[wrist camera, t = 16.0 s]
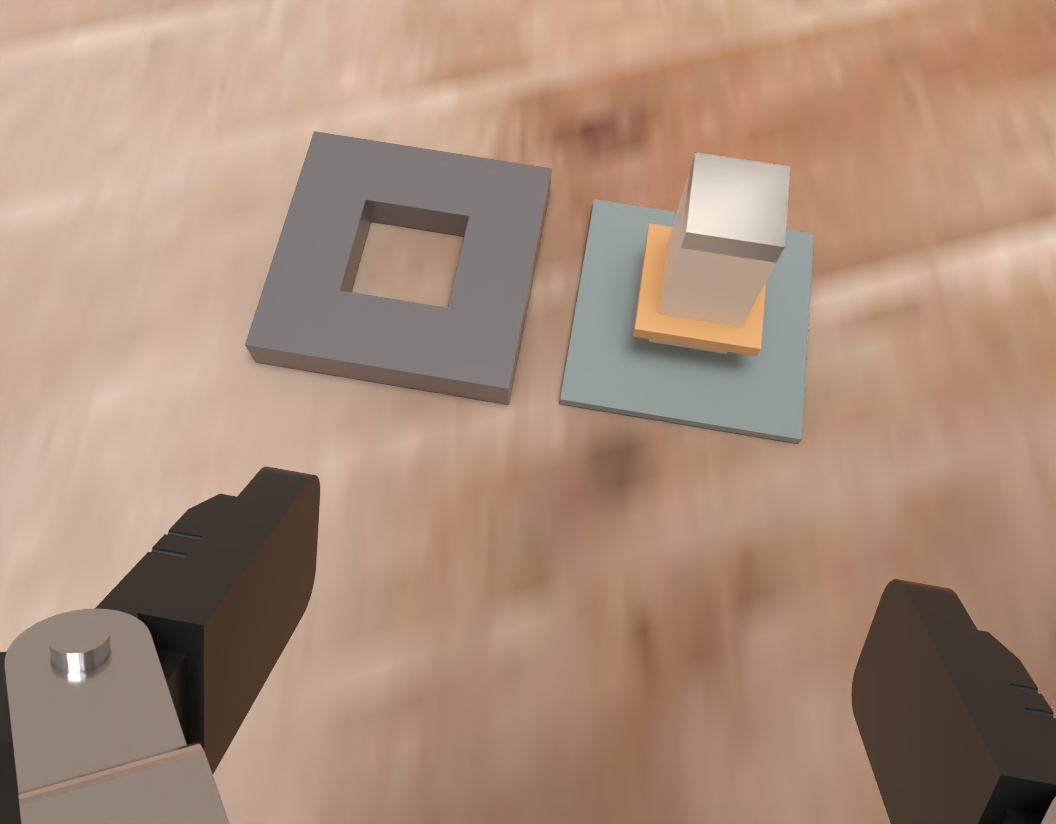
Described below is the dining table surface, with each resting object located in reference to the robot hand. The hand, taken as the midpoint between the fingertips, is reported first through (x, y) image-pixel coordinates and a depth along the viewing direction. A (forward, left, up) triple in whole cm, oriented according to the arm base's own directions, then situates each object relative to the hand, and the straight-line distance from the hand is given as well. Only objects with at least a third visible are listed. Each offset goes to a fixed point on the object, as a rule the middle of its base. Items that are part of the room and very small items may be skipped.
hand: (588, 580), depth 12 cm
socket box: (+10, -20, -29) cm, 36 cm away
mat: (-5, -20, -29) cm, 35 cm away
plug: (-5, -20, -28) cm, 35 cm away
